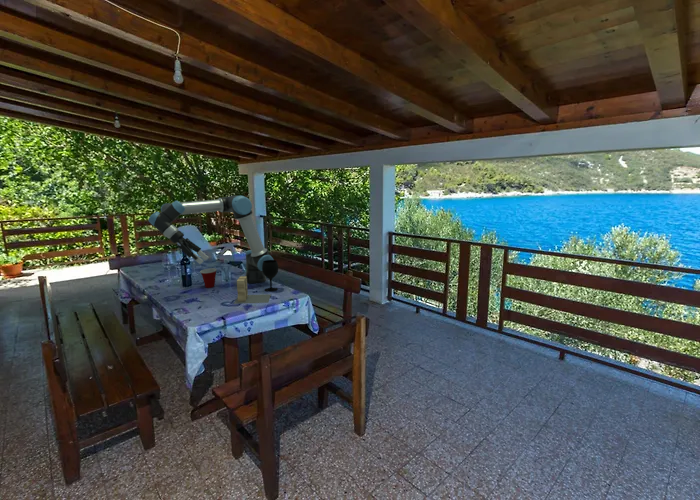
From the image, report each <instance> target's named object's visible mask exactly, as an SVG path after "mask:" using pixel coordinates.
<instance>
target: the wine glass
mask: <svg viewBox="0 0 700 500" xmlns="http://www.w3.org/2000/svg"><path fill="white" fill-rule="evenodd" d="M262 271H263V274H264V275H265V276H266V279H267V278H268V279H269V287H267V288H265V289H264V291H265V292H267V293H268V292H276V291H278V292H279V291H280V289H279V288H278V287H273V285H272V284H273V283H272V282H273V279H274V278H275V277H276V276H277V275H278V273H279V263H278V261H277V260H276V259H273V260H265V261H263V265H262Z"/></svg>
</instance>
